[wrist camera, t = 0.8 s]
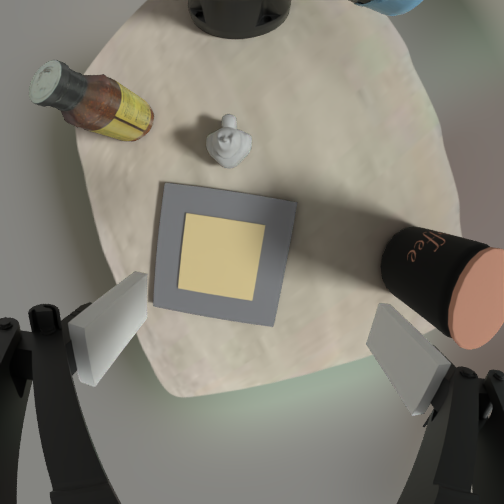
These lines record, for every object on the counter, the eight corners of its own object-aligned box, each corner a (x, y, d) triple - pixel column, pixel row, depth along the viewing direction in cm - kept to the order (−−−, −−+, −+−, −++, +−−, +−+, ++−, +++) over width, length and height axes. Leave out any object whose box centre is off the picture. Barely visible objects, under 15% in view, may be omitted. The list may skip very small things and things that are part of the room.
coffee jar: (435, 223, 36) (521, 243, 18) (432, 289, 38) (505, 335, 20) (376, 228, 36) (459, 253, 19) (376, 300, 38) (442, 362, 21)
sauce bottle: (137, 94, 33) (59, 32, 13) (164, 118, 33) (90, 57, 14) (107, 128, 33) (13, 92, 14) (132, 153, 34) (37, 126, 15)
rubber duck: (209, 170, 35) (196, 162, 27) (210, 121, 34) (199, 102, 26) (251, 169, 35) (250, 162, 27) (252, 121, 34) (251, 101, 26)
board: (167, 182, 35) (164, 182, 34) (296, 202, 36) (297, 202, 34) (155, 303, 38) (152, 307, 37) (272, 323, 39) (273, 327, 38)
